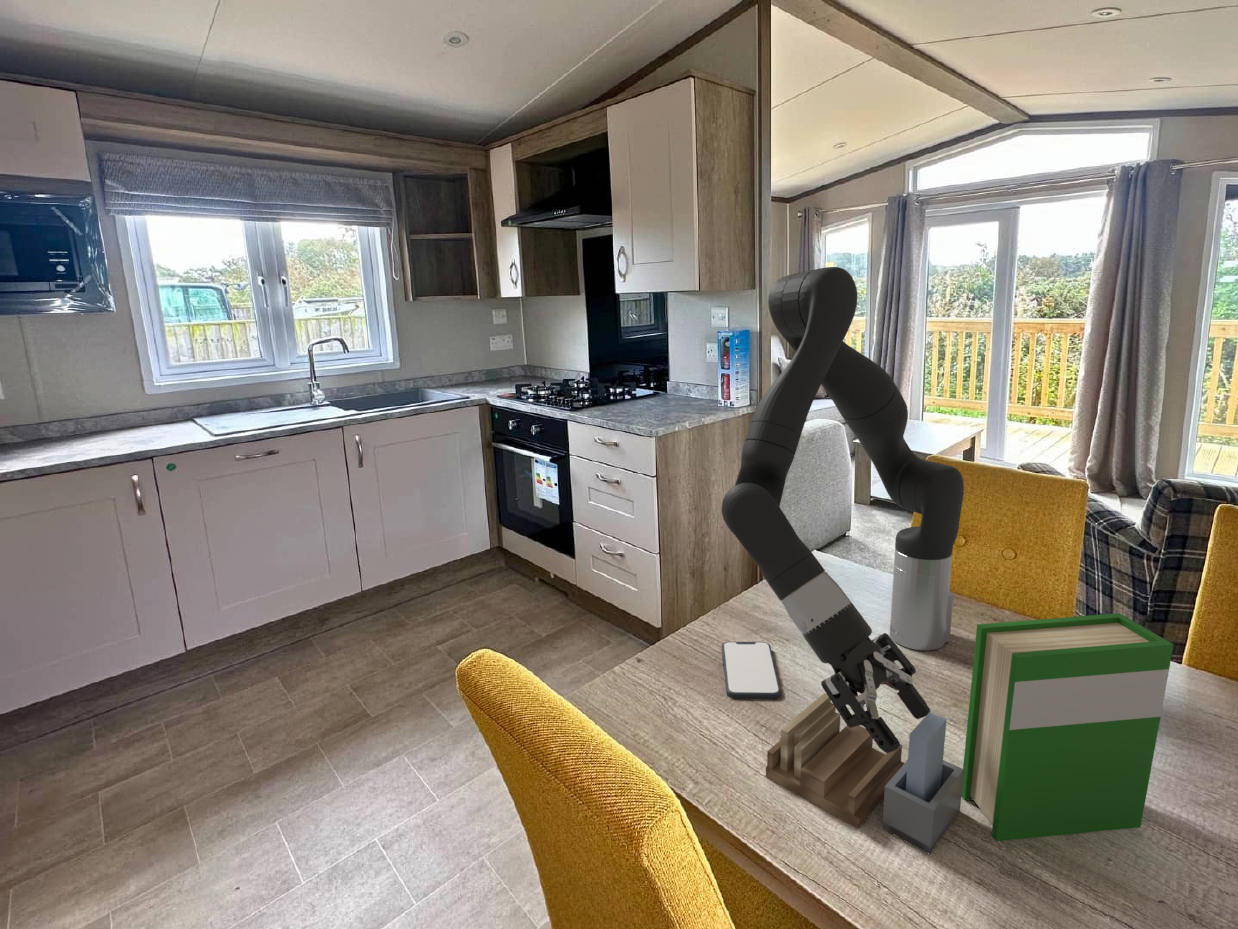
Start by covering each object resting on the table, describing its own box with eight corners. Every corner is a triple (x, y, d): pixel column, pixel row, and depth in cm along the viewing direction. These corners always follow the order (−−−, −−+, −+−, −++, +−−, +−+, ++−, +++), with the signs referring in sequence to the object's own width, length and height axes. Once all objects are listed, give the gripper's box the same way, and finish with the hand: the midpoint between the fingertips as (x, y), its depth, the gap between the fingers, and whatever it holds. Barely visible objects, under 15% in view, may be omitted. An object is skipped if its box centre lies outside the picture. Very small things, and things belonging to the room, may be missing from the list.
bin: (882, 828, 80) (884, 786, 79) (914, 788, 86) (917, 748, 85) (929, 854, 76) (933, 810, 75) (959, 810, 82) (964, 769, 81)
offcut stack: (780, 768, 89) (781, 729, 87) (823, 729, 96) (824, 693, 95) (800, 779, 87) (801, 739, 85) (842, 738, 94) (844, 701, 93)
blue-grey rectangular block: (903, 820, 80) (909, 733, 77) (922, 795, 84) (929, 712, 81) (920, 829, 79) (927, 741, 76) (939, 804, 82) (946, 719, 79)
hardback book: (996, 841, 78) (1017, 657, 72) (960, 795, 85) (977, 624, 79) (1140, 827, 79) (1173, 644, 73) (1092, 783, 86) (1119, 613, 80)
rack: (765, 776, 90) (766, 750, 89) (816, 730, 98) (817, 706, 97) (858, 828, 80) (860, 800, 79) (905, 773, 89) (907, 747, 88)
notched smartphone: (782, 703, 106) (770, 649, 122) (782, 694, 106) (770, 641, 121) (726, 702, 107) (721, 648, 123) (726, 694, 107) (720, 641, 122)
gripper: (815, 625, 78) (907, 753, 73) (871, 584, 88) (956, 695, 82) (775, 650, 83) (859, 771, 78) (833, 609, 93) (911, 715, 88)
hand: (909, 732), depth 80 cm, fingers open, 8 cm apart
